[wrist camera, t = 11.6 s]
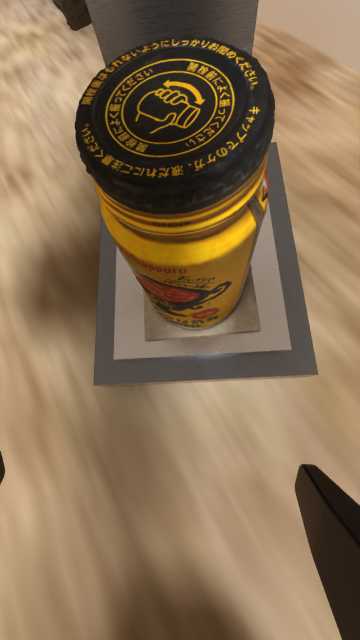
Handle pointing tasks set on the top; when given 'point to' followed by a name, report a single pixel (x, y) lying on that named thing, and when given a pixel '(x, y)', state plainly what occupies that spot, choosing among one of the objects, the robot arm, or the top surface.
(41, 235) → the top surface
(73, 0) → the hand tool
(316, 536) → the robot arm
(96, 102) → the condiment
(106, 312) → the coffee machine
